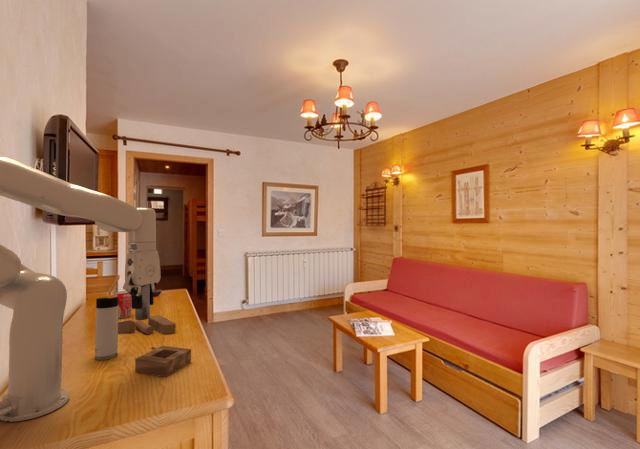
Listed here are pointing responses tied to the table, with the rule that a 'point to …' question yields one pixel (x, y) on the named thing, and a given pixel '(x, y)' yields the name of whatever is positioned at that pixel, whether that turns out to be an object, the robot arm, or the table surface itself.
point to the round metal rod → (144, 304)
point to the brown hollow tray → (162, 361)
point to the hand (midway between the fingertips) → (142, 305)
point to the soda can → (124, 304)
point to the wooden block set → (148, 326)
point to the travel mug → (106, 328)
